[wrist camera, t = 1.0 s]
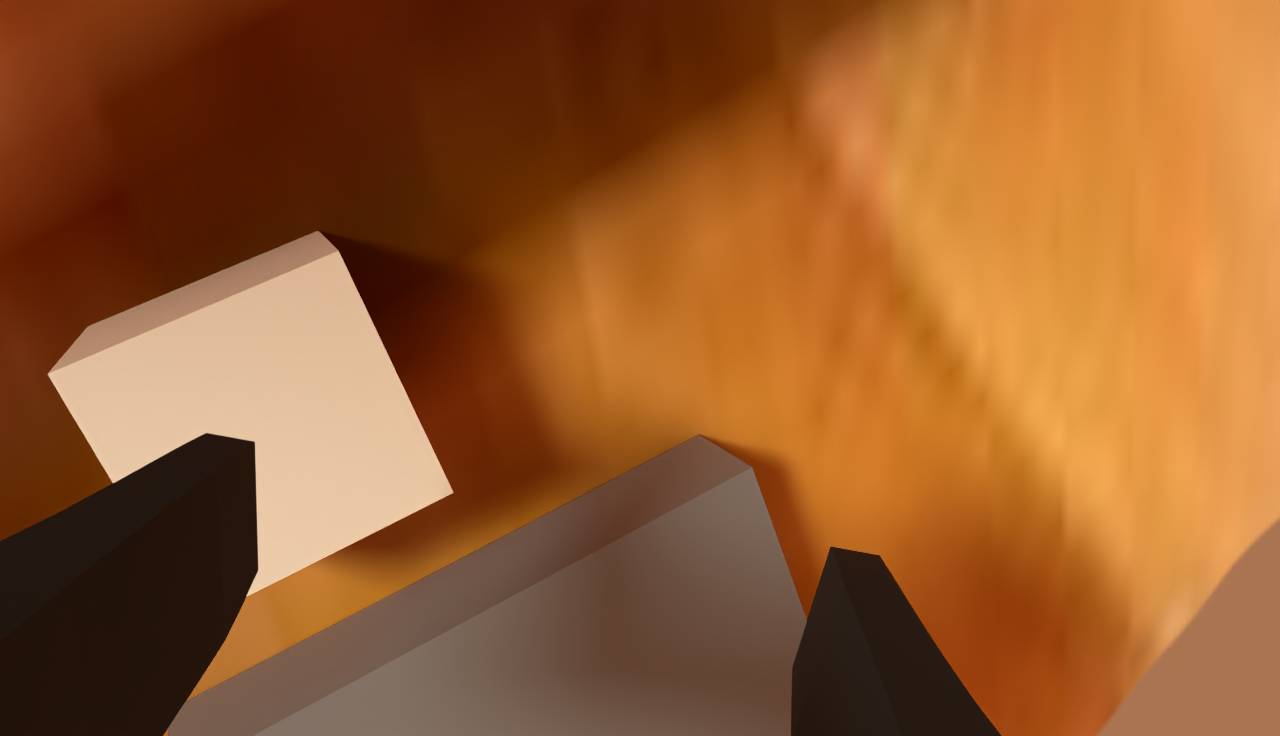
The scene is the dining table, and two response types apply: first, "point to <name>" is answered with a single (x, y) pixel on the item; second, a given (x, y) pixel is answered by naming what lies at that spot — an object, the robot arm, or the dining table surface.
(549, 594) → the plinth
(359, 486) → the cube
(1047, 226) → the dining table surface
